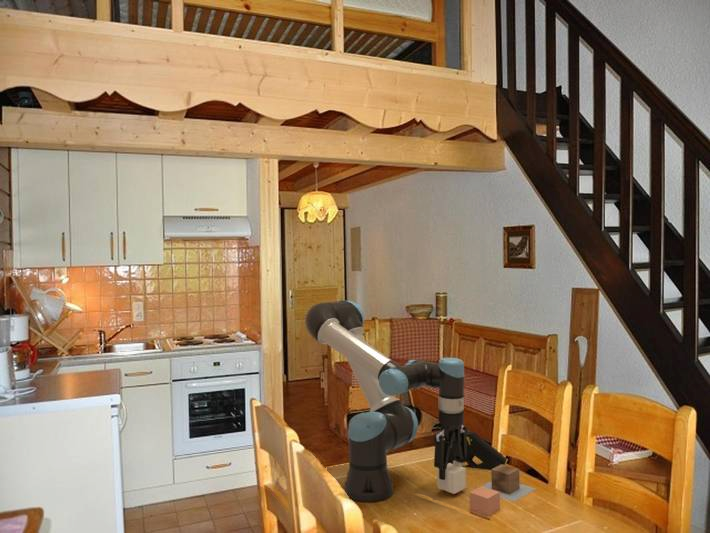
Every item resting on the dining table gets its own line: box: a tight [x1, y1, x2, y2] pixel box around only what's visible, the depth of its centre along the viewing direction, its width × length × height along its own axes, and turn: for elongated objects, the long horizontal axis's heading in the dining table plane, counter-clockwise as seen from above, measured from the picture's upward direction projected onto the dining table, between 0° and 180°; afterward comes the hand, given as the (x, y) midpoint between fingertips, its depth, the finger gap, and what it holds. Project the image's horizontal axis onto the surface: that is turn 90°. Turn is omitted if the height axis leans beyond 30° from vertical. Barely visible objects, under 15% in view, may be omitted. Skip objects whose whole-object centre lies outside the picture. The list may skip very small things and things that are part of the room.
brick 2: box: [490, 464, 521, 495], centre depth 167 cm, size 6×6×6 cm
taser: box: [447, 431, 509, 471], centre depth 187 cm, size 4×18×15 cm
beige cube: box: [437, 463, 467, 495], centre depth 166 cm, size 6×6×6 cm
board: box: [482, 480, 536, 503], centre depth 167 cm, size 13×13×1 cm
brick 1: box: [468, 485, 501, 521], centre depth 154 cm, size 6×6×6 cm
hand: (450, 486), depth 166 cm, fingers closed on beige cube, 6 cm apart
